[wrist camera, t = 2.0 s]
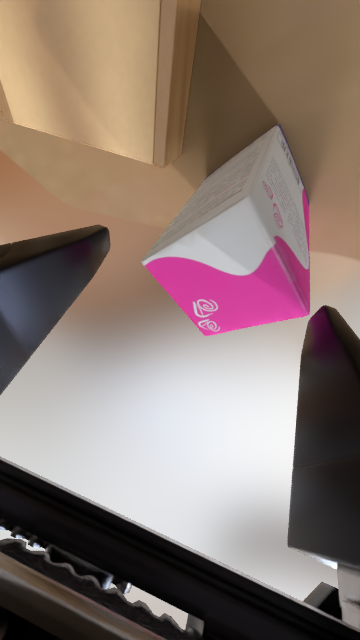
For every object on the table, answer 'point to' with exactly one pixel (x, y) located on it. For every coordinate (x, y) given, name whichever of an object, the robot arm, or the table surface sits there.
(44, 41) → the shelf
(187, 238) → the supplement box
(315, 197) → the table surface
